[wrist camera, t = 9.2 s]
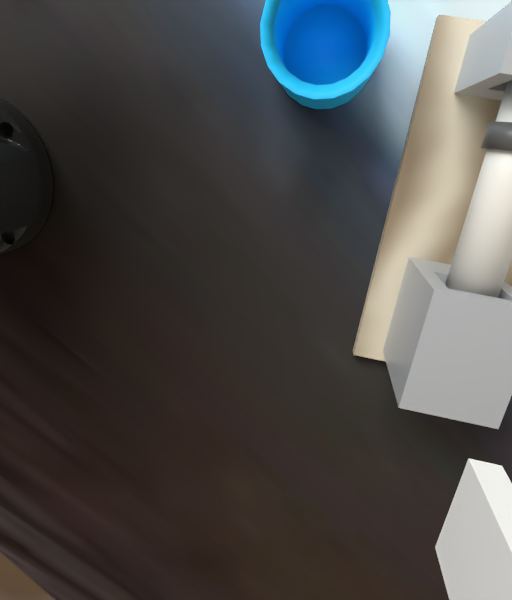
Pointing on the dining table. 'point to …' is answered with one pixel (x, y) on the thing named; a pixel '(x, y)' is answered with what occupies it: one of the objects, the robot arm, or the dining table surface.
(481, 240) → the tube
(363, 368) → the dining table surface
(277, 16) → the mug
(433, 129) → the mount board
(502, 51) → the socket
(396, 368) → the sleeve
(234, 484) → the dining table surface
